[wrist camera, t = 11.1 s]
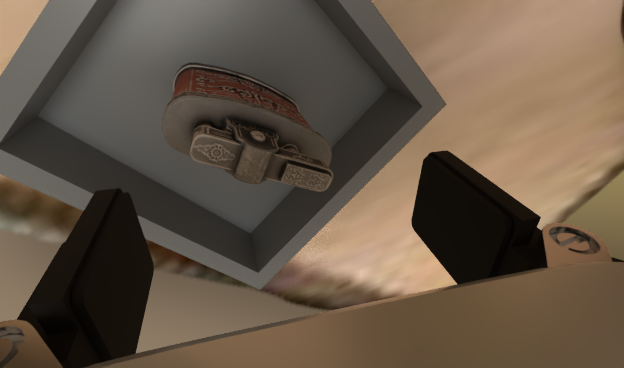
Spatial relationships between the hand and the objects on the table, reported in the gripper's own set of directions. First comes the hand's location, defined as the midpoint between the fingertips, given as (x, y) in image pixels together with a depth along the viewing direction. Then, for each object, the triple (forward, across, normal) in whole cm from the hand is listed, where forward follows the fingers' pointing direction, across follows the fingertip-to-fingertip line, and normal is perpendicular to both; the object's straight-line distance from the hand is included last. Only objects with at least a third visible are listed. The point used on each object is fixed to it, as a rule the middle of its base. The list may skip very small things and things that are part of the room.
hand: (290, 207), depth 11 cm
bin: (+14, +1, 0) cm, 14 cm away
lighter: (+13, +1, 0) cm, 13 cm away
